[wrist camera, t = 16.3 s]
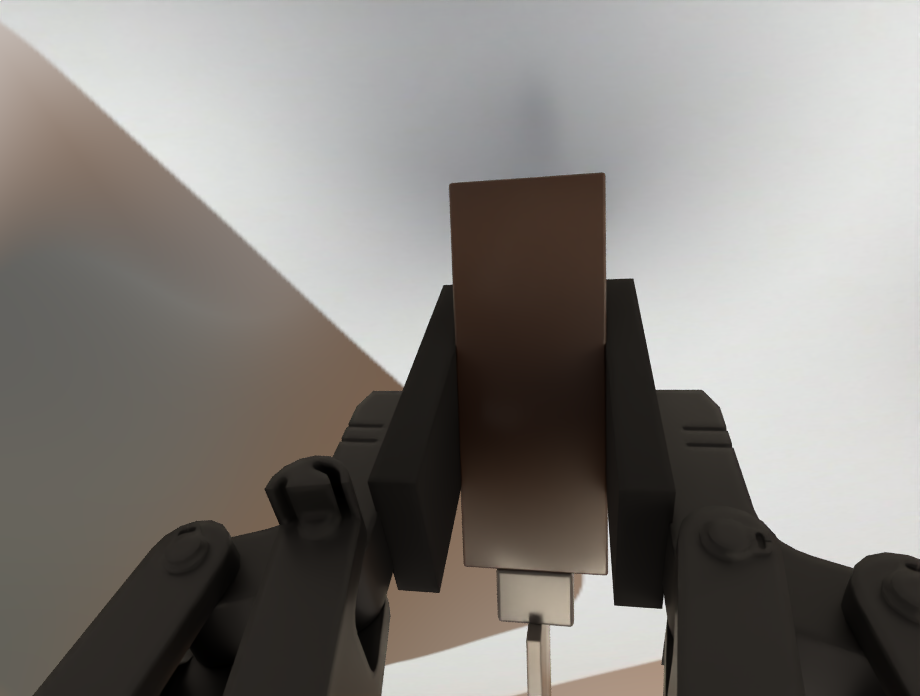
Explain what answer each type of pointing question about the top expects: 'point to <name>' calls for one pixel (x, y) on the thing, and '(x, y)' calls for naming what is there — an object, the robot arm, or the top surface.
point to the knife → (532, 393)
